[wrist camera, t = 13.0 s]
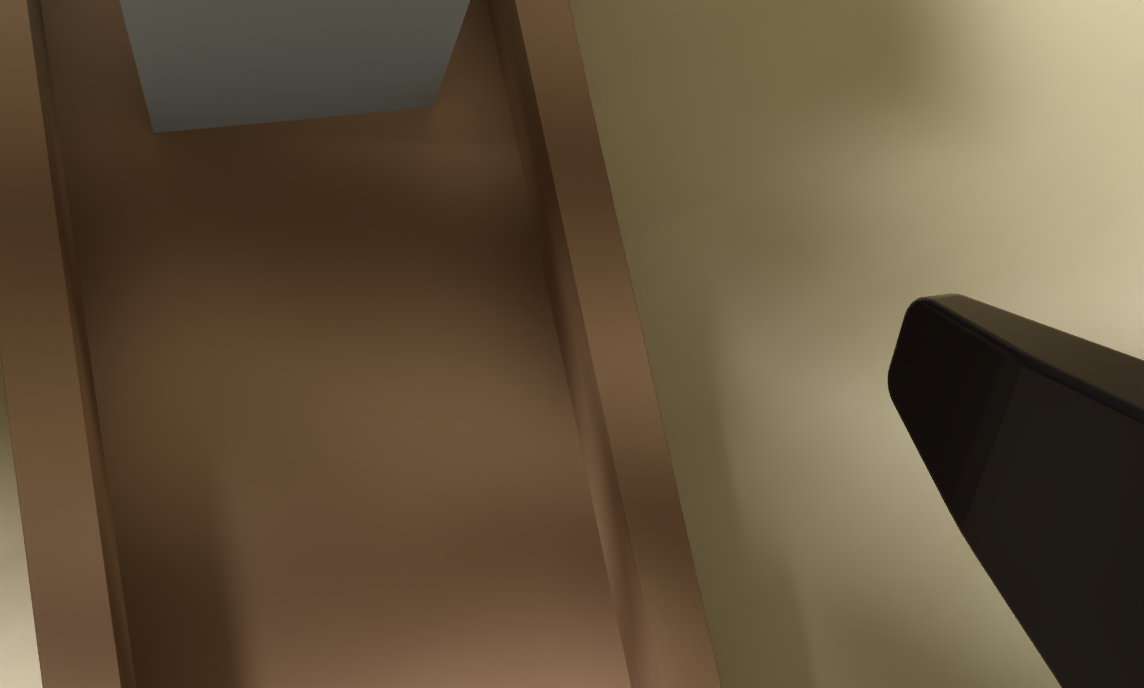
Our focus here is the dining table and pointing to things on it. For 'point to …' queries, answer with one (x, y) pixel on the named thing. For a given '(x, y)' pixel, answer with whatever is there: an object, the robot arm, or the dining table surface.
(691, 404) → the dining table surface
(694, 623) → the wooden tray
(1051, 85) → the dining table surface
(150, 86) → the slate post
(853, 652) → the dining table surface
